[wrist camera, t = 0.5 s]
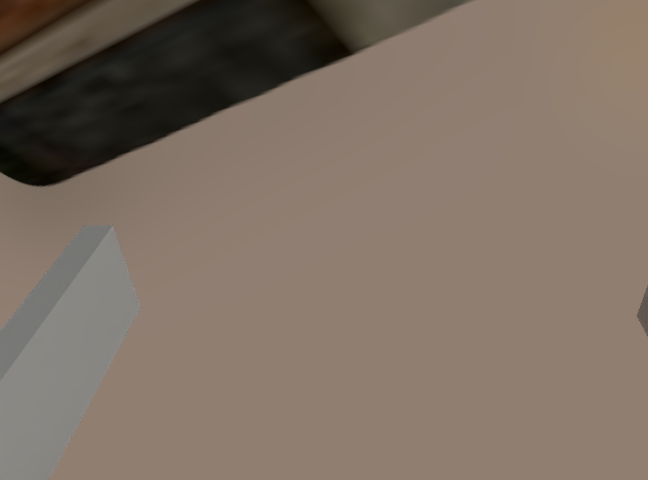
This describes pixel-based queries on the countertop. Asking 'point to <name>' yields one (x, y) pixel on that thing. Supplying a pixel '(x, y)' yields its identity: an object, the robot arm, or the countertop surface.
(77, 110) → the countertop surface
